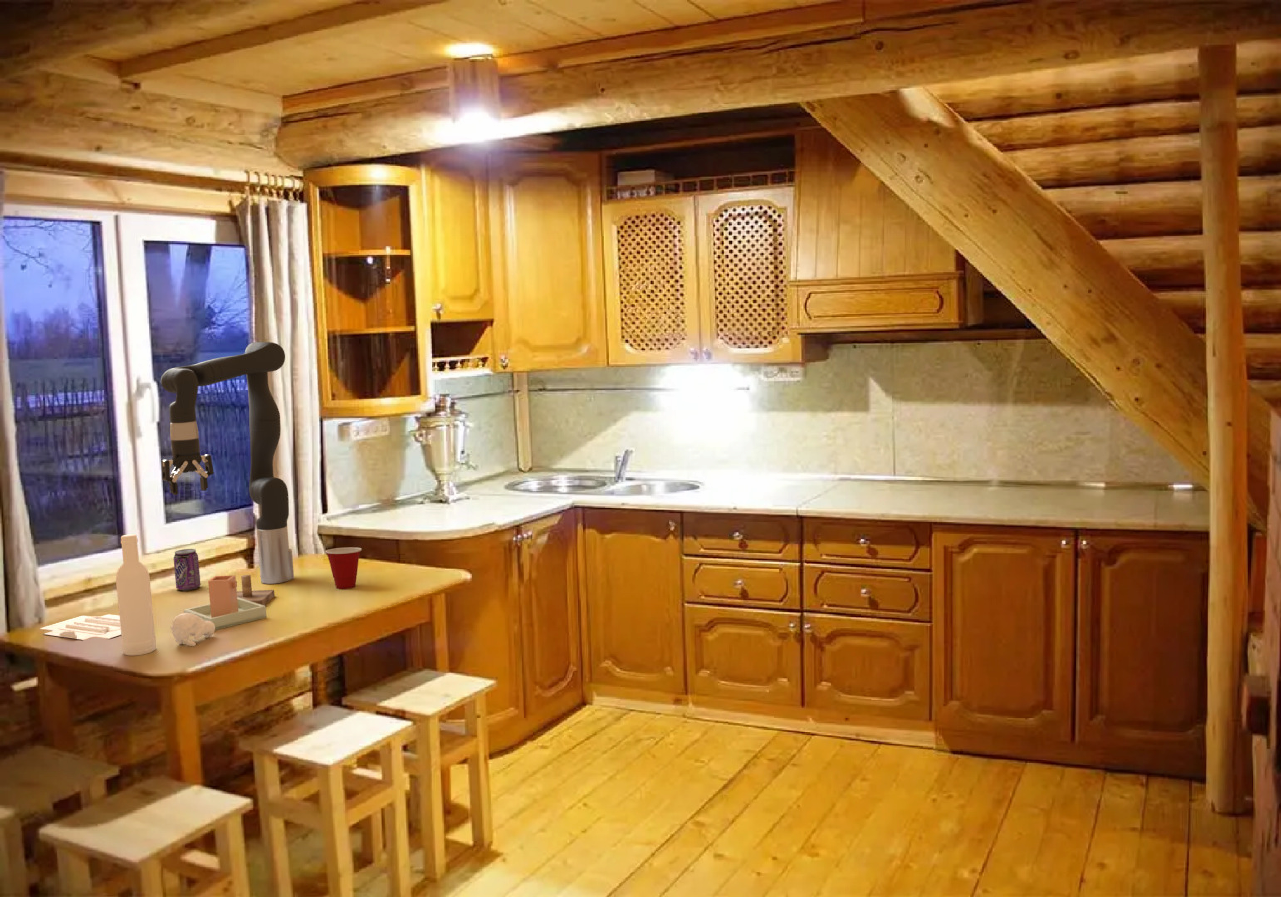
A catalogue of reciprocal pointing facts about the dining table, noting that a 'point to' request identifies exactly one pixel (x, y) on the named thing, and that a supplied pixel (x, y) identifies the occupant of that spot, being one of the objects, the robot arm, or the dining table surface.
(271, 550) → the robot arm
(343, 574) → the plastic cup
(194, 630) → the animal figurine
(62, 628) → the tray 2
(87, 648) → the dining table surface
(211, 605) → the sleeve
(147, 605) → the bottle
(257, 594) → the stand
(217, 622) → the tray
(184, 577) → the beverage can
